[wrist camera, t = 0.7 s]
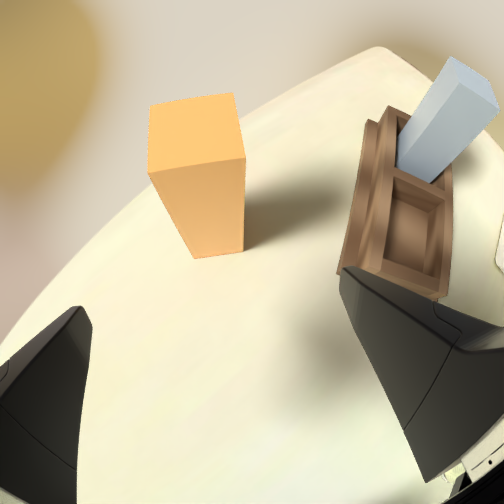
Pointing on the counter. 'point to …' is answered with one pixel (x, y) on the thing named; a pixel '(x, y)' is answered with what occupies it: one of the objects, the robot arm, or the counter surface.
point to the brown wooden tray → (399, 216)
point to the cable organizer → (500, 250)
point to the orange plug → (200, 171)
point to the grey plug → (445, 121)
